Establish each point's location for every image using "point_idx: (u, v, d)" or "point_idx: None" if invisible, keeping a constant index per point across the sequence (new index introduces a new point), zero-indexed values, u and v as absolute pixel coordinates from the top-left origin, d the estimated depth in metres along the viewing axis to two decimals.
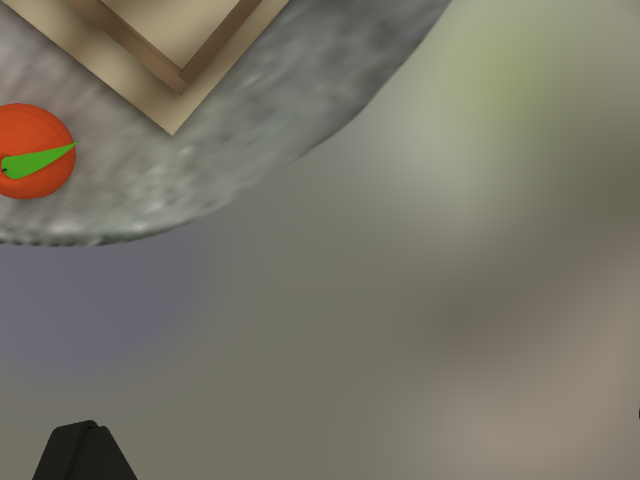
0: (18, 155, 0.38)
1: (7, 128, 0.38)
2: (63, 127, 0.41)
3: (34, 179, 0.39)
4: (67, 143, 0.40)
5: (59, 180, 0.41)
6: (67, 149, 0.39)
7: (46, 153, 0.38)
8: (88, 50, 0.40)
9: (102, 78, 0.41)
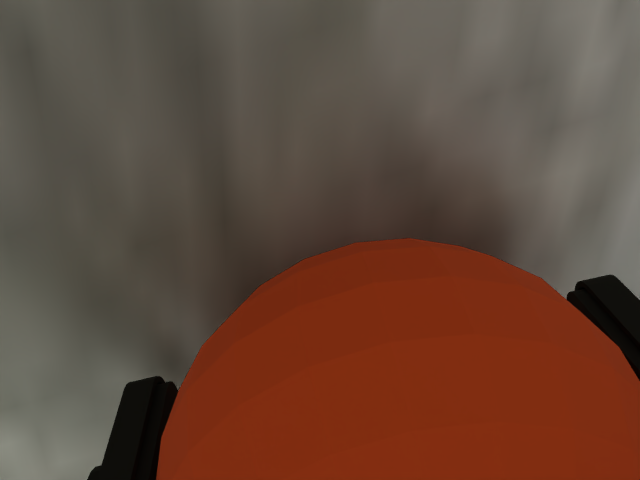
0: None
1: None
2: None
3: None
4: None
5: None
6: None
7: None
8: None
9: None
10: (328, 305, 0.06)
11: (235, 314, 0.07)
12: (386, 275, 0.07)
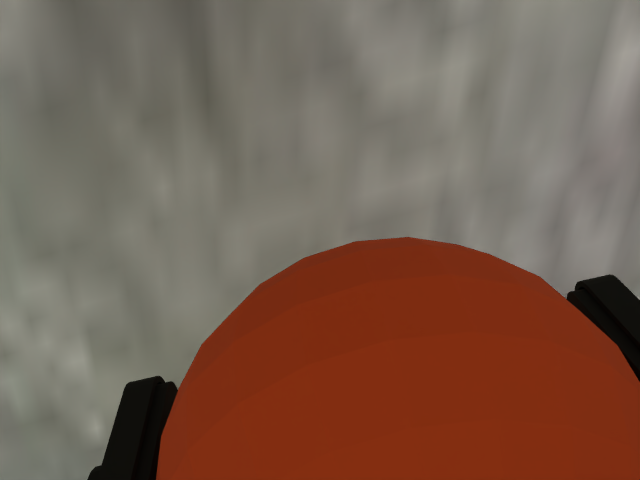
0: None
1: None
2: None
3: None
4: None
5: None
6: None
7: None
8: None
9: None
10: (328, 302, 0.06)
11: (234, 313, 0.07)
12: (385, 273, 0.07)
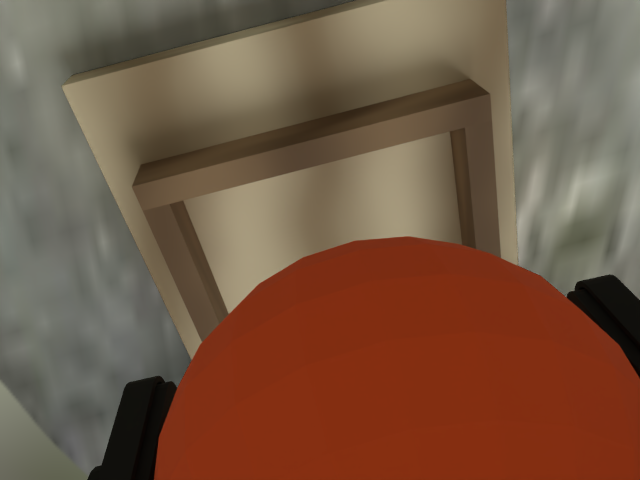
0: None
1: None
2: None
3: None
4: None
5: None
6: None
7: None
8: (291, 59, 0.20)
9: (234, 44, 0.20)
10: (327, 302, 0.06)
11: (233, 313, 0.07)
12: (384, 272, 0.06)
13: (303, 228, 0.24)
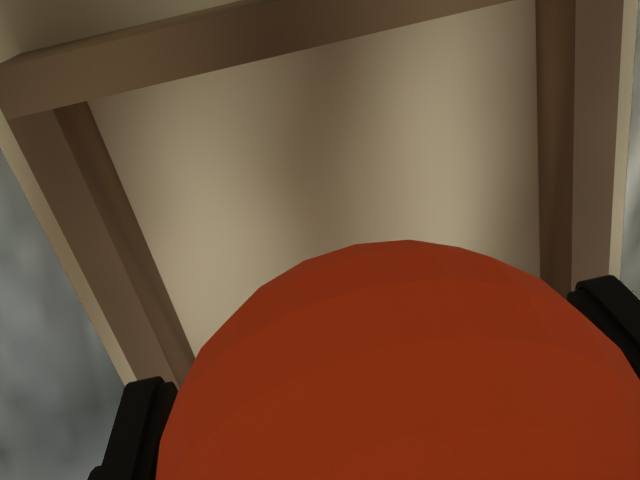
0: None
1: None
2: None
3: None
4: None
5: None
6: None
7: None
8: None
9: None
10: (328, 307, 0.06)
11: (234, 316, 0.07)
12: (386, 277, 0.06)
13: (291, 178, 0.15)
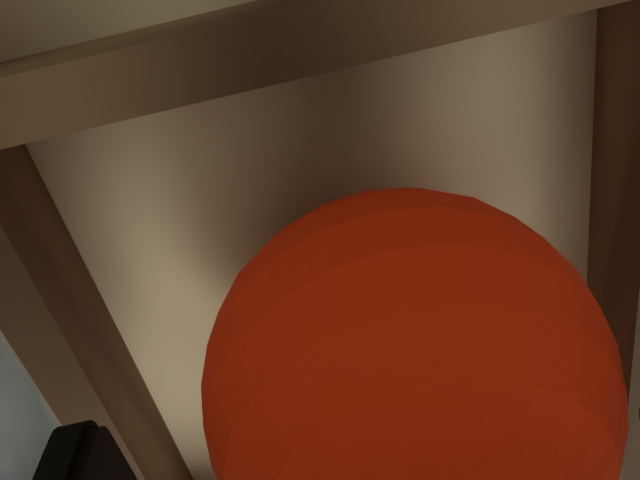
0: None
1: None
2: None
3: None
4: None
5: None
6: None
7: None
8: None
9: None
10: (344, 228, 0.08)
11: (266, 245, 0.09)
12: (388, 206, 0.08)
13: None
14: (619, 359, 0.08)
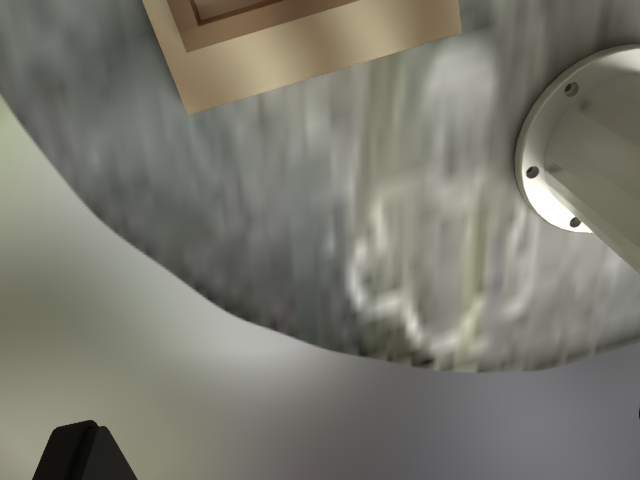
0: None
1: None
2: None
3: None
4: None
5: None
6: None
7: None
8: None
9: None
10: None
11: None
12: None
13: None
14: None
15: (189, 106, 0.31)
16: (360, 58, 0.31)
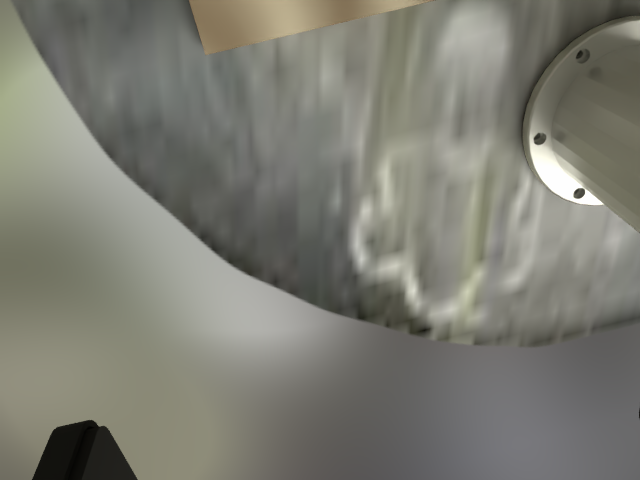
0: None
1: None
2: None
3: None
4: None
5: None
6: None
7: None
8: None
9: None
10: None
11: None
12: None
13: None
14: None
15: (207, 46, 0.32)
16: (378, 9, 0.32)
